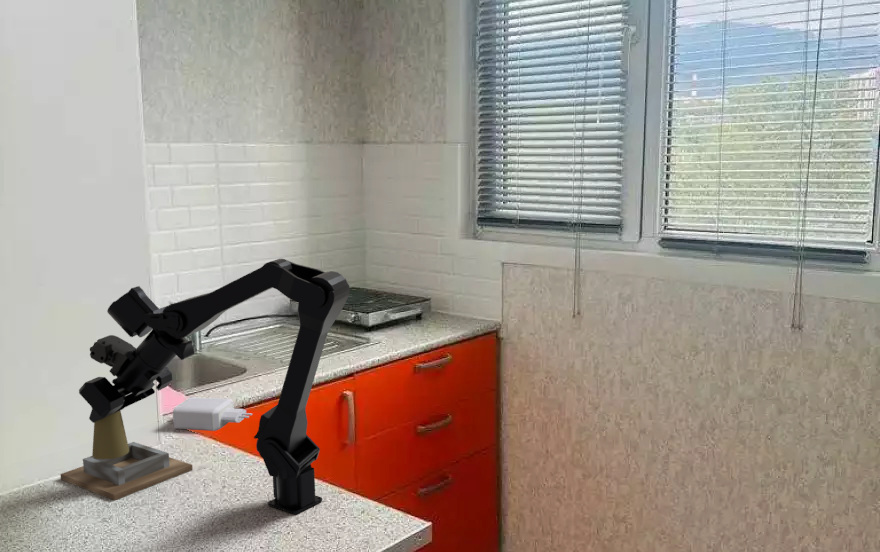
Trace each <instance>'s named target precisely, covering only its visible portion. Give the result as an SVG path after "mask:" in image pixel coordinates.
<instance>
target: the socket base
mask: <svg viewBox="0 0 880 552" xmlns="http://www.w3.org/2000/svg"><path fill="white" fill-rule="evenodd" d="M128 447H129V452H128V453H127V454H126V455H124V456H121V457H117V458H113V459H96V458H94V457H93V456H92V455H91V456H87V457H85V458H82V464H83V466H79V467H76V468H73V469H71V470H69V471H64V472H62V473H60V480H62V481H65V483H69V484H72V485H75V486H77V487H79V488H82V489H84V490H87V491H89V492H93V493H94V494H97V495H100V496H103V497H105V498H107V499H110V500H113V501H117V500H119V499H122V498H124V497H127V496H129V495H132V494H134V493H137V492H140V491H142V490H144V489H147V488H150V487H153V486H155V485H157V484H160V483H163V482H166V481H168V480H170V479H173V478H175V477H179V476H181V475H183V474H186V473H188V472H190V471H193V464H191V463H187V462H185V461H182V460H179V459H175V458H173V457H170V453H169V452H166V451H163V450H160V449H157V448H153V447H151V446H148V445H145V444H141V443H139V442H135V441H132V442H128Z"/></svg>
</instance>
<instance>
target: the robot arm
mask: <svg viewBox="0 0 880 552" xmlns="http://www.w3.org/2000/svg"><path fill="white" fill-rule="evenodd" d="M350 288H351V287H350V284H349V283H348V280H347V279H346V278H345V276H344V275H343V274H341V273H339V272H338V271H333V270H331V271H329V270H328V271H323V270H321V269H318V268H315V267H309V266H306V265H304V264H298V263H295V262H293V261H290V260H287V259H285V258H278V259H275V260H272V261H267V262H266V263H264V264H263V265H262V266H260V268H257V269H255V270H253V271H250V272H249V273H246V274H245V275H243V276H241V277H239V278H236V279H235V280H233V281H231V282H229V283H227V284H225V285H223V286H221V287H219V288H217V289H215V290H213V291H210V292H207V293H203V294H200V295H196V296H192V297H188V298H186V299H183V300H179V301H177V302H174V303H172V304H171V303H170V304H168V305H166V306H164V307H161V308H159V306H157V305H156V304H155V303H154V302H153V301H152V300H151V298H150V297H149V296H148V295H147V293H146V292H145V291H144V289H143V288H142V287H141V286H140V285H138V286H134V287H131V288H130V289H129V290H128V291H127V292H126V293H124V294H123V295H121V296H120V297H119V298H118V299H116V300H115V301H113V302H111V303H110V305H109V307H108V308H107V310H106V311H107V314H108V315H109V316H110V317H111V318H112V319H113V320H114V321H115V322H116V324H118V325H119V327H121V329H123V331H124V332H125V333H126V334H127V335H128V337H130V338H133V337H135V336H137V337H138V338H142V337H144V339H143V340H142V341H141V343H140V344H139V345H138V346H137V347H135V346H134V345H132V344H131V343H130V342H129V341H126V340H124V339H123V338H121V337H119V336H117V335H114V334H110V335H107V336H104V337H102V338H99V339H97V340H96V341H95V342H94V343H93V345H92V346H90V347H89V351H90V353H89V356H90V358H91V360H93V361H96V362H97V363H99V364H104V365H107V366H108V367H111V368H110V370H109V373H110V374H111V375H112V376H113V377H116V378H113V379H112V380H111V382H110V380H109V379H107V378H106V376H105V377H104V376H97V377H94V378H92V379H90V380H88V381H85V382H84V383H83V384H82V385H81V387H80V388H79V389H78V393H79V395H80V396H81V397H82V398H83V399H84V400H85V402H87V404H88V405H89V406H90V408H91V412H90V415H89V418H88V420H90V421H91V422H92V423H93V424H94V422H96V421H99V420H101V419H103V418H105V417H107V416H110V415H112V414H114V413H116V412H118V411H123V410H124V409H125V408H127V407H129V406H131V405H133V404H136V403H138V402H139V401H141V400H144V399H147V398H148V397H150V396H152V395H154V394H155V393H156V390H157V391H161V390H163V389H164V388H167V387H168V385H169V384H171V382H172V381H173V373H172V372H171V371H170V370H169V367H168V366H169V364H170V363H171V362H172V361H173V360H174V359H175V358H176V357H178V358H179V360H181V361H183V360H186V359H188V358H189V357H192V356H195V355H194V354H195V349H194V346H193V340H192V339H190V340H188V339H186V337H188V336H190V335H191V336H192V335H194V334H196V333H199V332H200V331H203V330H204V329H206V328H207V327H208V326H210V325H211V324H212V323H214V322H215V321H217V320H218V319H219V318H220V316H221V315H223V314H224V313H225V312H226V311H228V310H231V309H232V308H234V307H236V306H238V305H240V304H243V303H245V302H247V301H248V300H251V299H253V298H255V297H256V296H258V295H261V294H263V293H264V292H267V291H269V290H271V289H275V290H277V291H279V293H281V294H282V295H283V296H285V297H286V298H288V299H290V300H292V301H294V302H297V303H298V304H297V314H298V319H299V320H298V321H299V330H298V332H297V336H296V339H295V343H294V347H293V350H292V353H291V356H290V357H291V358H290V361H289V362H288V363H289V364H288V367H287V370H286V374H285V377H284V381H283V384H282V386H281V387H282V388H281V391H280V395H279V397H278V398H279V399H278V401H277V404H276V405H274V406H273V407H271V409H269V410H267V411H265V412H264V413H263V414H261V415H260V418H259V421H258V429H257V432H256V434H255V435H254V436H253V439H255V440H256V444H255V445H256V447H255V448H256V452H258V454H259V456H260V457H261V458H262V460H263V462H264V465H265V467H266V469H267V473H268V474H269V476H270V477H272V487H273V497H274V498H273V499H271V500H269V501H268V502H267V505H268V506H270V507H272V508H275V509H278V510H281V511H285V512H287V513H290V514H293V515H296V514H299V513H301V512H303V511H304V510H307V509H309V508H311V507H313V506H314V505H317V504H319V503H321V502H322V501H323V497H322V496H319V495H316V479H315V478H316V477H315V468H314V467H312V463H313V462H315V461H317V460H318V457H319V453H320V452H321V451H320V450H321V448H320V447H319V446H318V445H317V444H316V443H315V442H314V441H313V439H312V438H311V437H309V436H308V434H307V431H308V429H307V428H308V417H307V412H306V409H307V404H308V401H309V397H310V394H311V390H312V388H313V383H314V380H315V377H316V373H317V370H318V368H319V364H320V360H321V357H322V353H323V350H324V347H325V343H326V340H327V336H328V334H329V330H330V329H331V327H332V326H333V324H334V323H335V321H336V320H337V318H338V317H339V315H340V314H341V312H342V310H343V308H344V306H345V305H346V302H347V301H348V298H349V297H350V291H351V289H350ZM146 335H147V336H146ZM145 336H146V337H145ZM155 382H157V383H158V384H157V385H156V384H155ZM155 385H156V387H155V389H156V390H155V389H154V388H153V387H154V386H155Z"/></svg>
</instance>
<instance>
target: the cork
mask: <svg viewBox="0 0 880 552" xmlns="http://www.w3.org/2000/svg"><path fill="white" fill-rule="evenodd" d="M92 436H93V438H92V439H93V441H92V454H91V456H93V457H94V458H96V459H113V458H117V457H121V456H124V455H126V454H127V453H128V452H129V447H128V444H129V442H128V439H127V435H126V429H125V425H124V420H123V415H122V410H120V411H118V412H116V413H114V414H112V415H110V416H107V417H105V418H103V419H101V420H99V421H96V422H94V423H93V435H92Z"/></svg>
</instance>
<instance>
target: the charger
mask: <svg viewBox="0 0 880 552" xmlns="http://www.w3.org/2000/svg"><path fill="white" fill-rule="evenodd" d="M234 405H235V404H234V401H233V400H232V399H231V398H220V397H219V398H218V397H217V398H216V397H215V398H214V397H199V396H198V397H195V396H192V397H189V398H187V399H185V400H184V401H182V402H181V403H179V404H178V405H176V406H174V408H173V410H172V418H173V419H172V421H173V428H174V430H190V431H191V430H193V431H207V432H208V431H210V432H217V431H218V430H221V429H222V428H224V427H225V426H226V425H227V424H228V423H236V424H238V423H240V422H242V421H243V420H244V419H249V418H250V416H253V413H251V412H250V413H249V412H247V410H246V409H244V408H235V406H234Z"/></svg>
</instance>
